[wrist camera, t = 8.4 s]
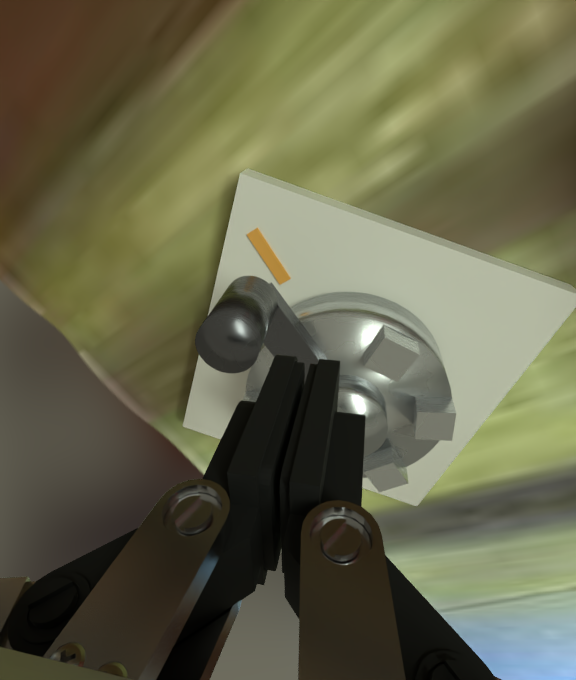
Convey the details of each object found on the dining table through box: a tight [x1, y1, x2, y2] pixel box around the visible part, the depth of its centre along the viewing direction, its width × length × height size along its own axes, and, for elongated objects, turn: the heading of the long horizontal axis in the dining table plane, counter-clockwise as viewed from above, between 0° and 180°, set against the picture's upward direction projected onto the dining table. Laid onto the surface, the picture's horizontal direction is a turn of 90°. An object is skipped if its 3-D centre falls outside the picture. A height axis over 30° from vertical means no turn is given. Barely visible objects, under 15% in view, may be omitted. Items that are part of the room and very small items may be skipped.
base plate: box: [183, 168, 576, 506], centre depth 25 cm, size 18×18×2 cm
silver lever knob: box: [195, 276, 456, 492], centre depth 21 cm, size 15×11×8 cm
